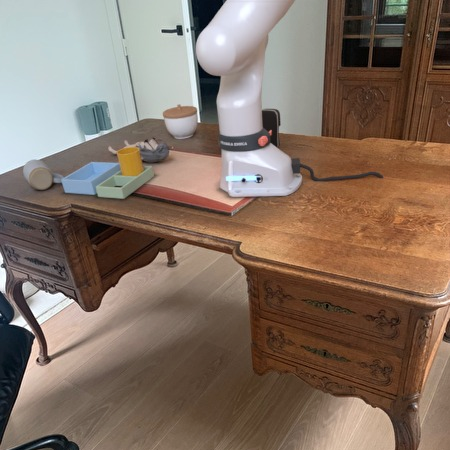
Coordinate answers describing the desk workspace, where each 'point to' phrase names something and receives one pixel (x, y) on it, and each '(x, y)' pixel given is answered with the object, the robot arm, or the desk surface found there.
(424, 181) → the desk surface
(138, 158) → the tumbler
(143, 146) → the anime figure
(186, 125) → the lidded bowl
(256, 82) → the robot arm
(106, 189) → the divided storage tray
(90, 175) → the open storage box
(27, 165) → the ceramic mug
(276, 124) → the battery charger
